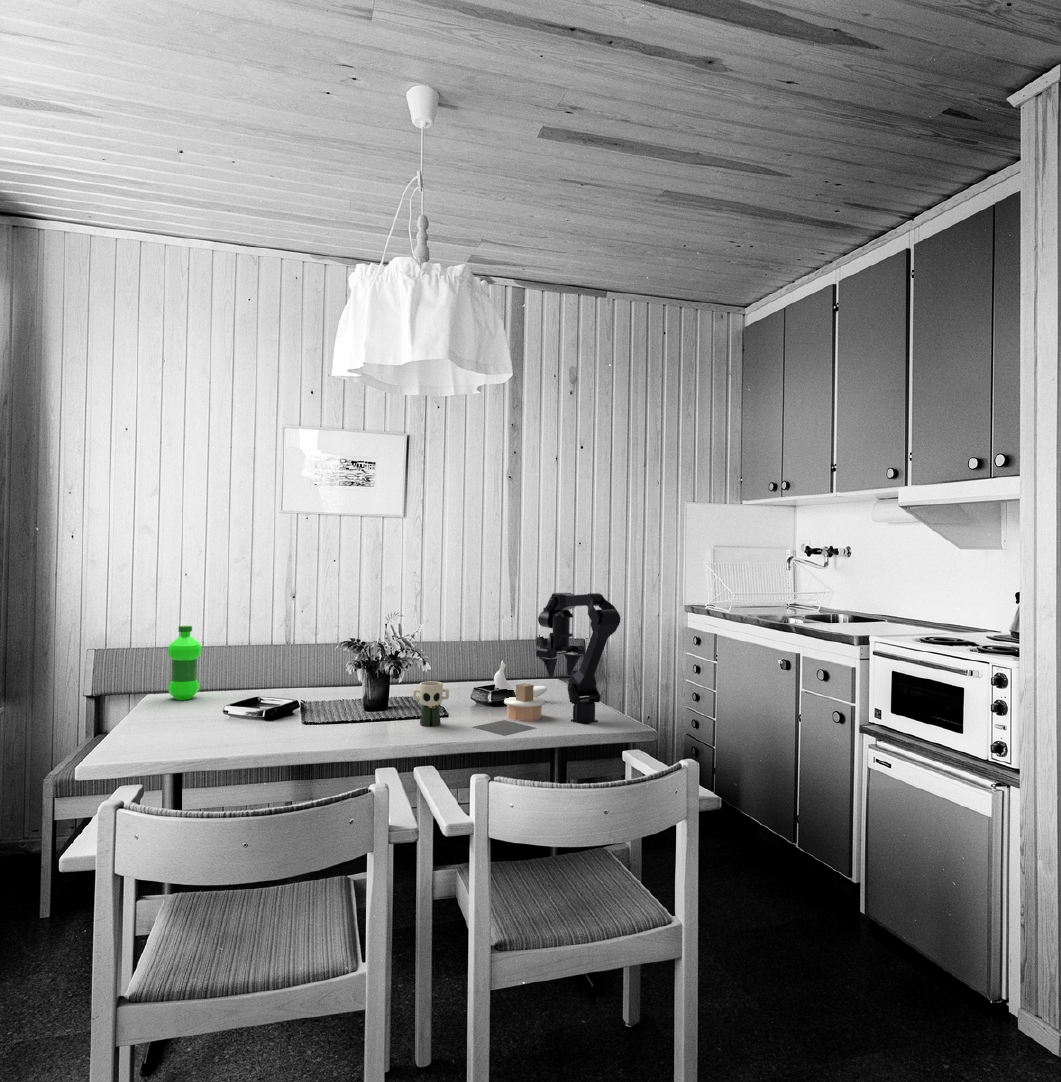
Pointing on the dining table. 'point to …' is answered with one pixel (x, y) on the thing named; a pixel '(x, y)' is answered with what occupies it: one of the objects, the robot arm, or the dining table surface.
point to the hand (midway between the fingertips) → (560, 676)
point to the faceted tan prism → (524, 713)
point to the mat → (504, 727)
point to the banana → (503, 684)
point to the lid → (524, 697)
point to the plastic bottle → (184, 665)
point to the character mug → (430, 701)
